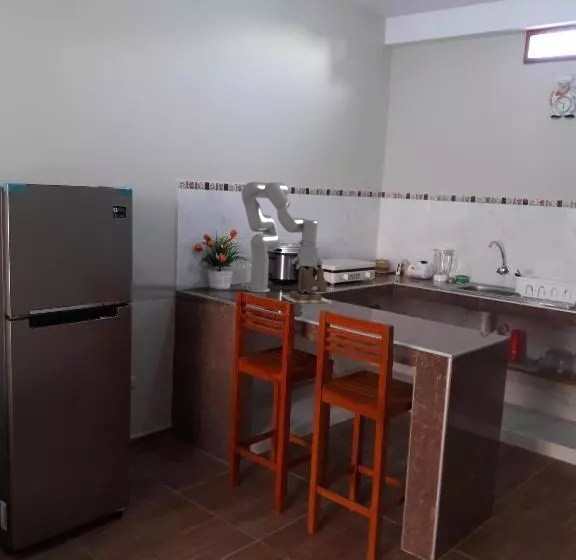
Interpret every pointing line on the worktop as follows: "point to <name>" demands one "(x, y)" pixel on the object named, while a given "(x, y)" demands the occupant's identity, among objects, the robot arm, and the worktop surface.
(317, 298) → the jig
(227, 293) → the worktop surface
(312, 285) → the wooden toy
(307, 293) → the eagle figurine
